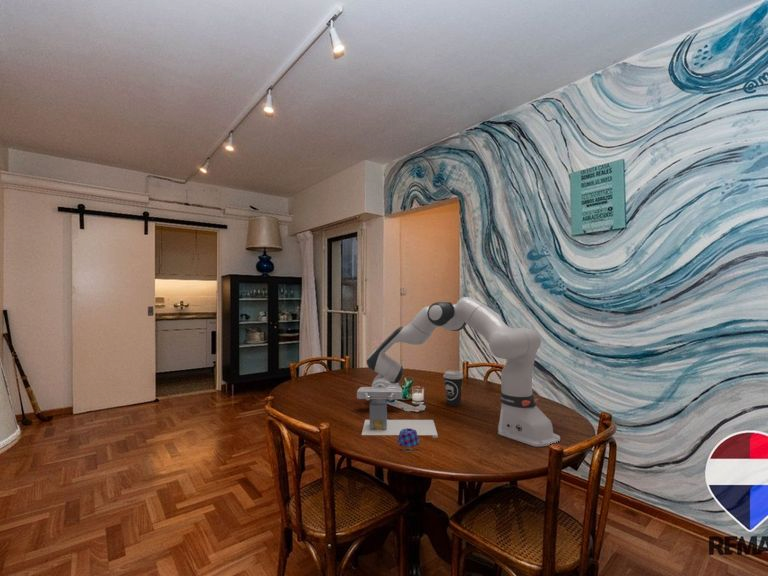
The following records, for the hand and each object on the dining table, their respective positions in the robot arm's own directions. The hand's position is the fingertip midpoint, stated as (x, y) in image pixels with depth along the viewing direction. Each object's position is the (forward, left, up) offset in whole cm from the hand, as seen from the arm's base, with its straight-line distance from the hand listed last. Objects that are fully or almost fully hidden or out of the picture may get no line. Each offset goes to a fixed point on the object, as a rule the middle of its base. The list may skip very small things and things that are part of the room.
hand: (379, 398), depth 153 cm
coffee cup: (0, -40, -9) cm, 41 cm away
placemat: (-15, -1, -8) cm, 17 cm away
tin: (-11, +6, -7) cm, 15 cm away
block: (-11, +6, -7) cm, 15 cm away
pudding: (-29, +3, -9) cm, 31 cm away
